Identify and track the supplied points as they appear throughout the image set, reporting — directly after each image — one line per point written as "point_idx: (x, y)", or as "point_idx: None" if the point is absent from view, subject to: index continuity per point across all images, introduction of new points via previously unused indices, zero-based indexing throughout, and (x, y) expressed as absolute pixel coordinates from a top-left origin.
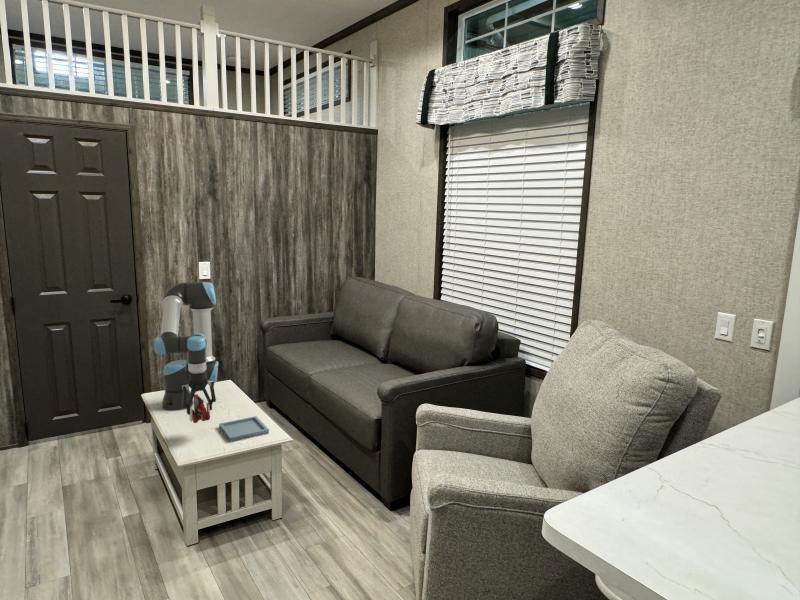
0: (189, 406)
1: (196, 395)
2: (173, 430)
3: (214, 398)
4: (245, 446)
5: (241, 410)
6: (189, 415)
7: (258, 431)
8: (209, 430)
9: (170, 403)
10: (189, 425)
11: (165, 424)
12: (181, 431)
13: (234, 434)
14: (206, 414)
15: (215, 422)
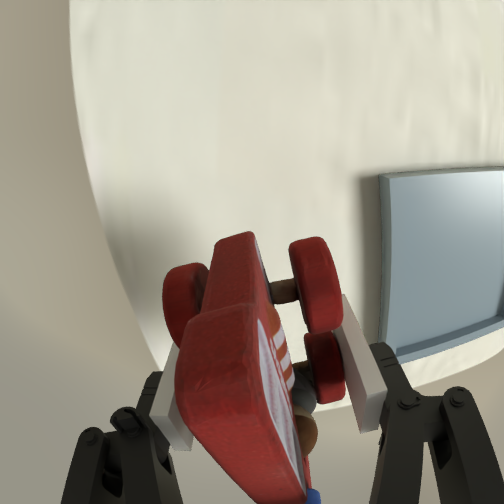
0: (164, 464)
1: (240, 457)
2: (113, 125)
3: (448, 455)
4: None
5: (482, 18)
6: (175, 348)
7: (483, 334)
8: (320, 194)
9: None
10: (203, 71)
11: (81, 38)
12: (154, 151)
13: (415, 313)
14: (318, 402)
15: (366, 86)
